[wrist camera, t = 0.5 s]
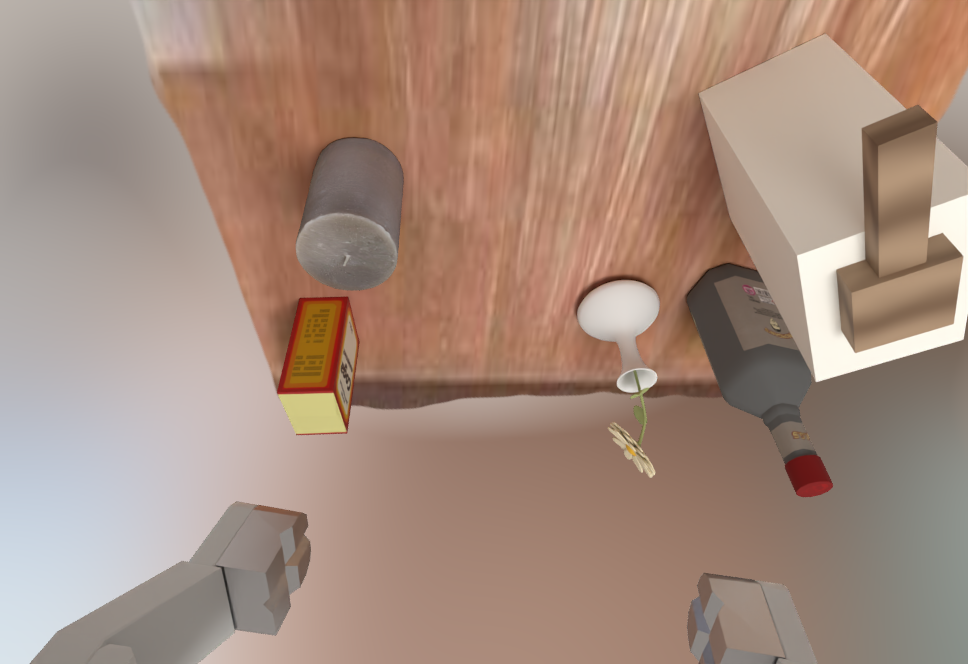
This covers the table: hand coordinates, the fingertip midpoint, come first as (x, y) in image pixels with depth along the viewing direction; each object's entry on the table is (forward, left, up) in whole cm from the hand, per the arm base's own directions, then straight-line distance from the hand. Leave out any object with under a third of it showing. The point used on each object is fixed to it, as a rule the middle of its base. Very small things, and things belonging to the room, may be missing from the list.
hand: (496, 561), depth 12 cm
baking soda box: (+49, +18, -52) cm, 74 cm away
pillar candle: (+26, +8, -52) cm, 59 cm away
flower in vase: (+21, +47, -52) cm, 73 cm away
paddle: (-10, +31, -27) cm, 42 cm away
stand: (-7, +39, -52) cm, 65 cm away
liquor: (+9, +56, -52) cm, 77 cm away
